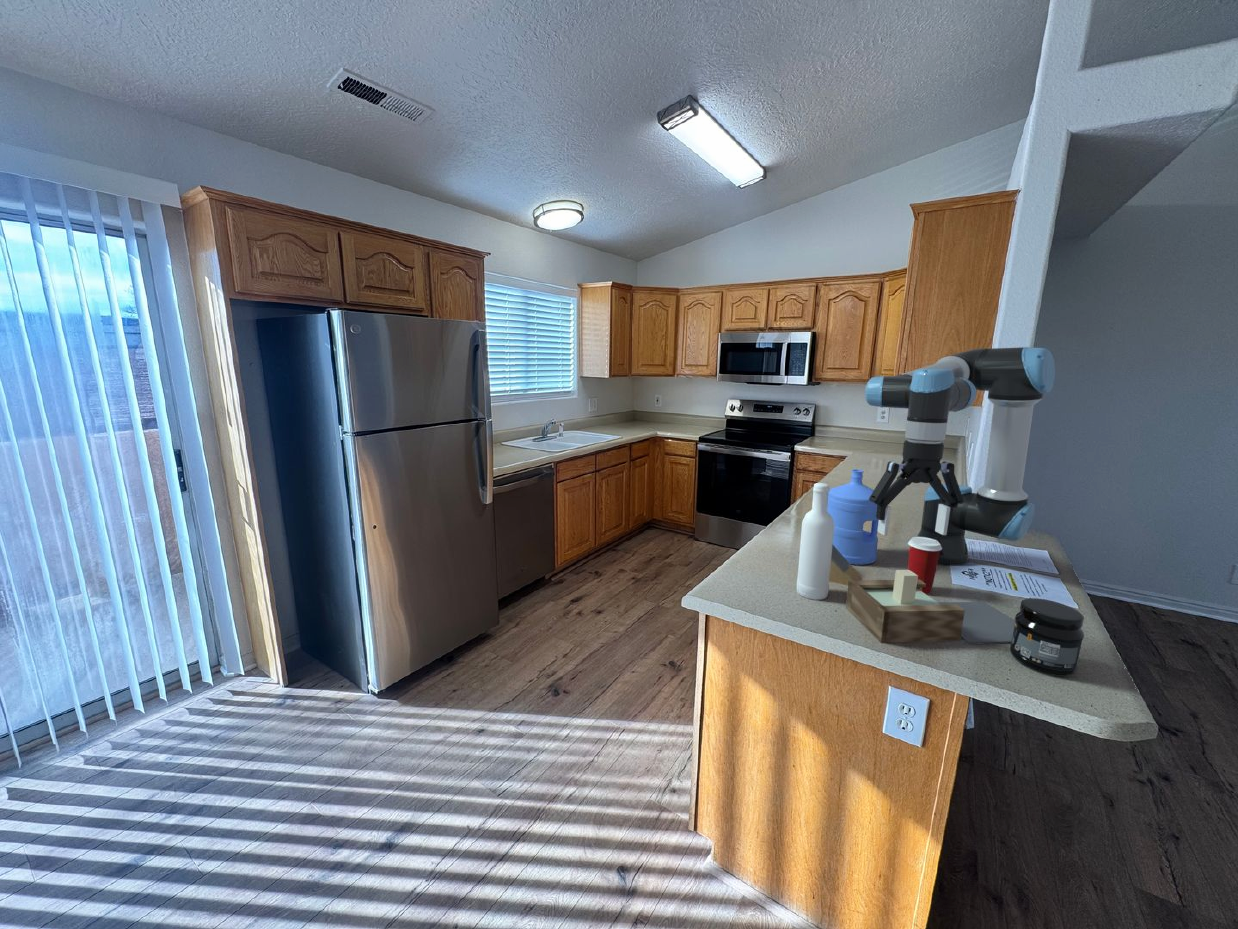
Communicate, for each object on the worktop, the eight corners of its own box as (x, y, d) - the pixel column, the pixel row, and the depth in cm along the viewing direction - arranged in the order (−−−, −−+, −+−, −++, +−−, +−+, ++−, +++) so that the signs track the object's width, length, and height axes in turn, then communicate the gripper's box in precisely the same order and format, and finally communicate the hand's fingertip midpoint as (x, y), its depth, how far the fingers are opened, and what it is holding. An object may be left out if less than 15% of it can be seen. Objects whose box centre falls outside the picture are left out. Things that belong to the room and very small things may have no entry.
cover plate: (915, 590, 120) (920, 561, 119) (953, 617, 108) (958, 584, 106) (856, 591, 120) (860, 562, 118) (887, 618, 107) (891, 585, 105)
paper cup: (931, 585, 134) (938, 537, 132) (939, 598, 127) (946, 547, 124) (899, 581, 137) (905, 534, 134) (905, 593, 130) (911, 544, 127)
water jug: (822, 561, 151) (830, 473, 145) (822, 544, 165) (829, 463, 160) (878, 569, 145) (889, 478, 140) (873, 551, 159) (883, 467, 154)
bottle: (834, 595, 128) (845, 485, 122) (815, 603, 124) (825, 489, 118) (808, 584, 135) (817, 479, 129) (789, 591, 131) (798, 483, 125)
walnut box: (915, 606, 123) (919, 579, 121) (959, 640, 108) (964, 610, 106) (845, 608, 122) (848, 580, 120) (880, 642, 107) (884, 611, 105)
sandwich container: (859, 588, 133) (865, 536, 130) (800, 576, 141) (805, 526, 138) (862, 577, 140) (868, 527, 137) (806, 565, 148) (810, 518, 145)
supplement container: (1043, 647, 105) (1053, 596, 103) (1091, 678, 95) (1103, 622, 92) (995, 648, 105) (1005, 596, 102) (1038, 679, 95) (1050, 622, 92)
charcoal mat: (984, 603, 125) (984, 601, 125) (1047, 642, 107) (1047, 640, 107) (915, 604, 124) (916, 602, 124) (968, 644, 106) (968, 642, 106)
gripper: (966, 438, 110) (952, 527, 114) (859, 438, 109) (849, 528, 113) (992, 443, 103) (977, 538, 107) (877, 443, 102) (866, 539, 106)
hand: (911, 533), depth 110 cm, fingers open, 13 cm apart
